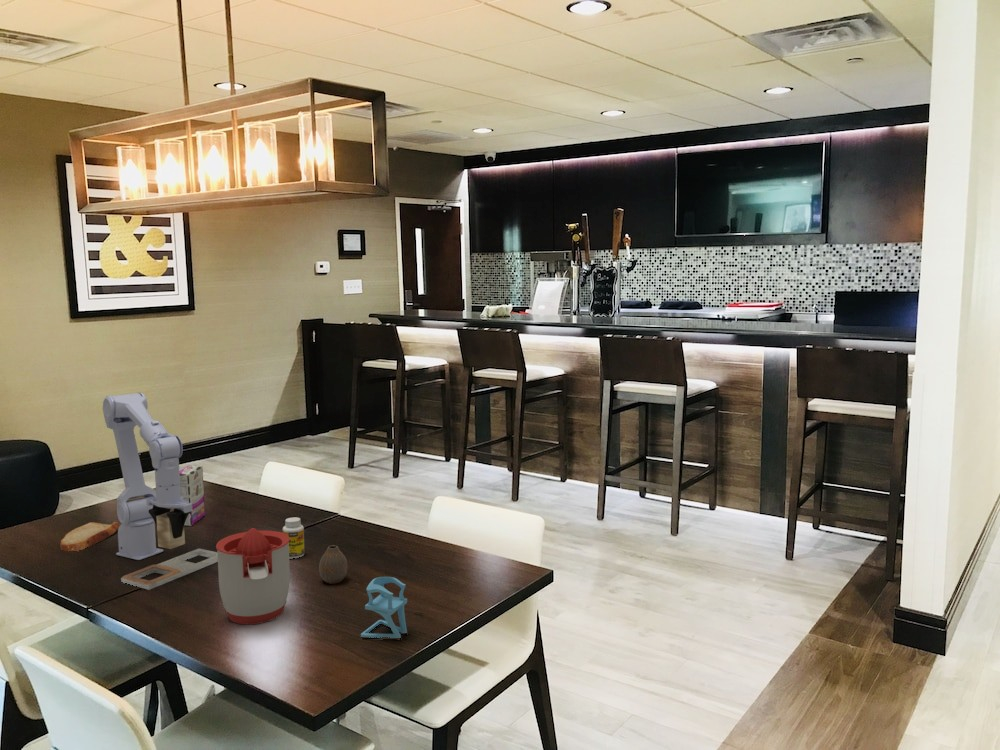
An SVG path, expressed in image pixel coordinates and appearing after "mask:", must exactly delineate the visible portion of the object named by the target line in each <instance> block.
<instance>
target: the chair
mask: <svg viewBox="0 0 1000 750" xmlns="http://www.w3.org/2000/svg"><path fill="white" fill-rule="evenodd" d="M389 583H393V584H395V585H396V586H398V587H399V588H400V591H399V595H398V596H399V597H398V596H394V593H393V592H391V591H389V590H388V589H387V588H385V585H386V584H389ZM405 589H406V583H403V582H402V581H400V580H399V579H397V578H396V577H392V576H378V577H375V578H373V579H372V580H371V581H370V582H369V584H368V585H367V587H366V592H367V597H368V599H369V600H368V602H367V603H366V604H365V605H364V610H367V611H373V612H375V613H377V614H378V615H380V616H381V617H382V618H383V619H384V620H383V619H378V620H377V621H376V622H375V623H373V624H372V625H371V626H369V627H368V628H367V629H366V630H364V631H363V632H360V638H361V637H369V638H370V637H371V638H374V637H375V638H376V637H377V638H380V637H381V638H382V637H388V638H389V637H390V638H401V639H402V635H401V634H400V633H399V632H401V633H407V634H408V630H407V623H406V614H405V605H406V604H407V603H408V598H405V597H404V591H405ZM373 593H380V594H378V595H377V596H376V597H375V598H374V597H373ZM396 612H397V615H398V622H399V626H398V625H396V624H395V623H394V621H393V618H392V615H393V614H395V613H396ZM379 624H384V625H386V626H388V627H390V628H391V630H390V631H391V632H392V633H374V632H373V633H372V632H370V631H371V630H372V629H374V628H375V627H376V626H378V625H379ZM379 626H380V625H379ZM379 626H378V627H379ZM375 629H376V628H375ZM375 629H374V630H375ZM369 632H370V633H369Z"/></svg>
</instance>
